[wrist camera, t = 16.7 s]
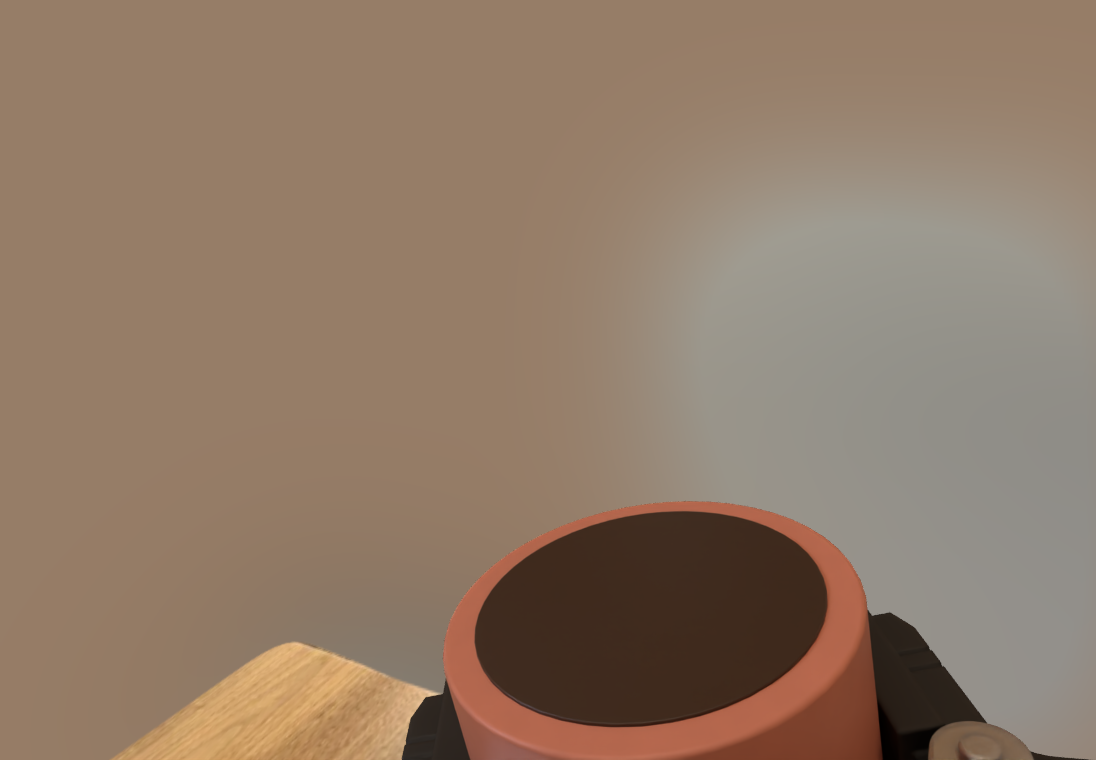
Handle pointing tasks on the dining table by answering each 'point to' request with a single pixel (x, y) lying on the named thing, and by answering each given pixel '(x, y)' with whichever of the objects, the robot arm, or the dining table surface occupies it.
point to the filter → (667, 643)
